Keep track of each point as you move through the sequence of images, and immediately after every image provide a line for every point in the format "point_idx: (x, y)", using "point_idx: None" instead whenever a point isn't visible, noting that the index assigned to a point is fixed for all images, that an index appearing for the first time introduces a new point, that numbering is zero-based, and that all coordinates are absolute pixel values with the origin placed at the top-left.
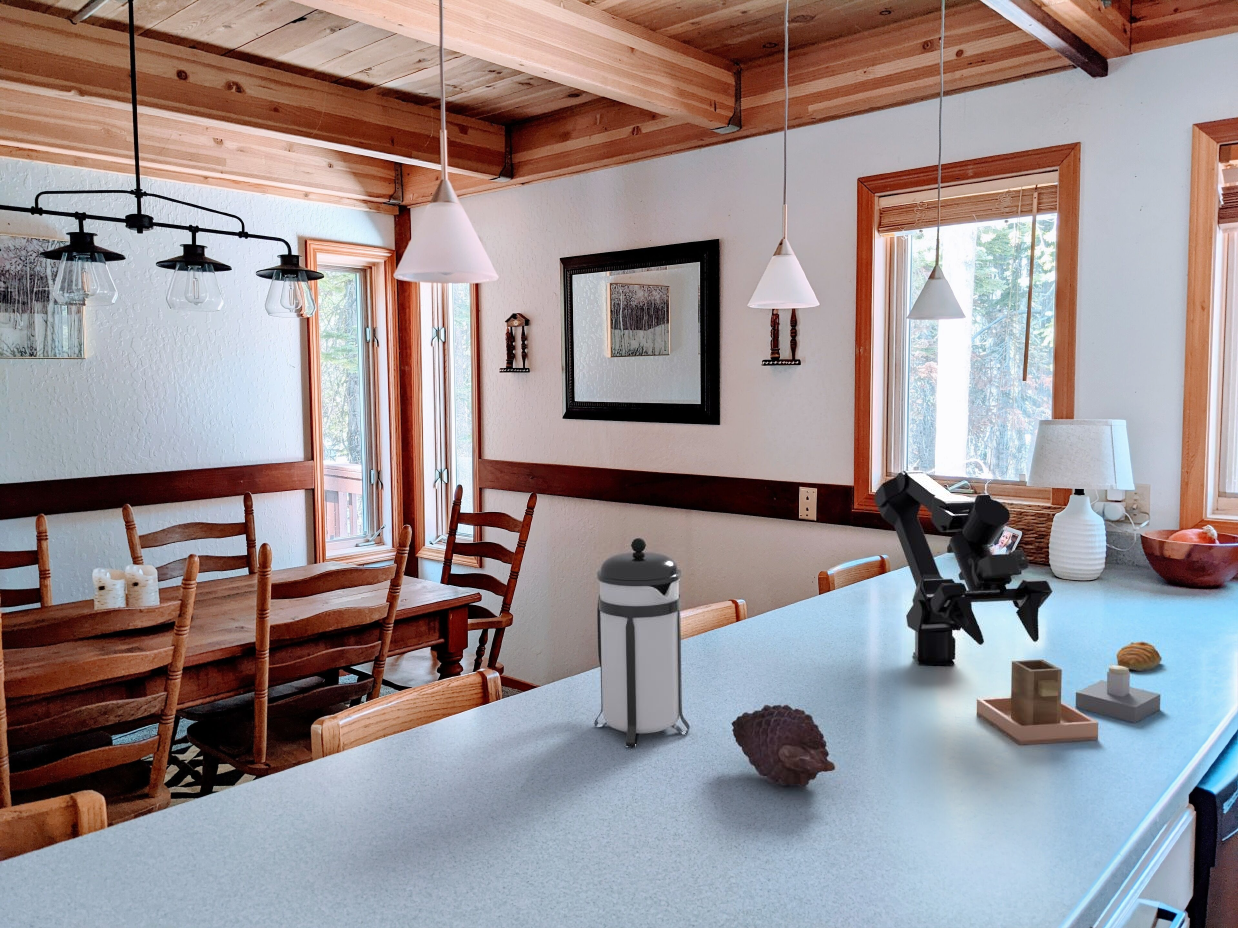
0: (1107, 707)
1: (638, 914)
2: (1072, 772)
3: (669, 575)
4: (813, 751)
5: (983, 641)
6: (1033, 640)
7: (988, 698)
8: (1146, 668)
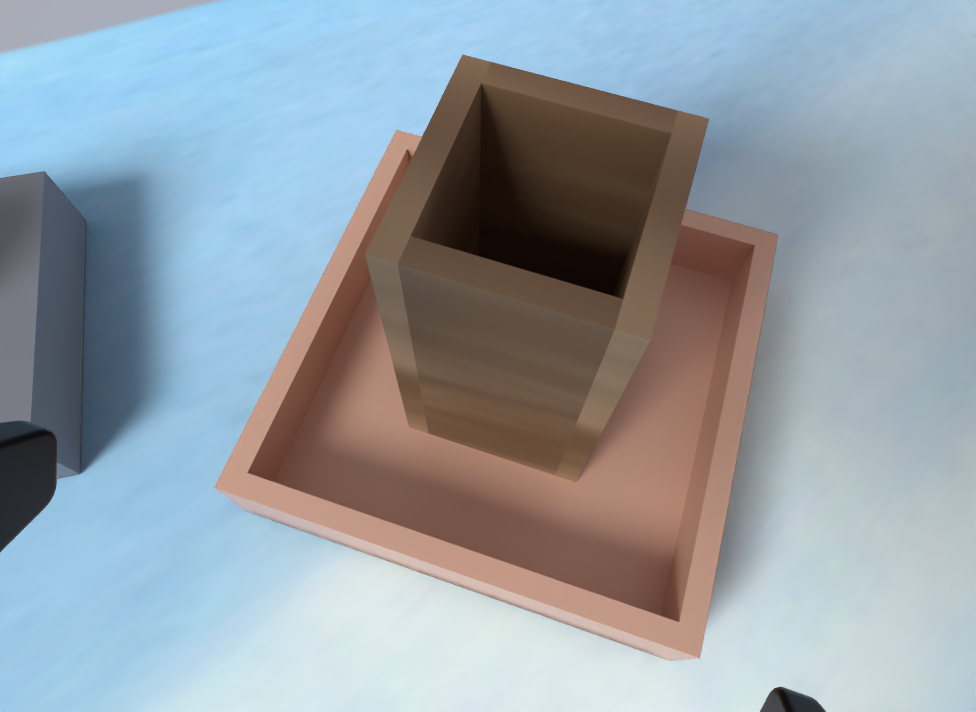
0: (60, 305)
1: None
2: (739, 67)
3: None
4: None
5: (784, 691)
6: (39, 504)
7: (623, 621)
8: None
